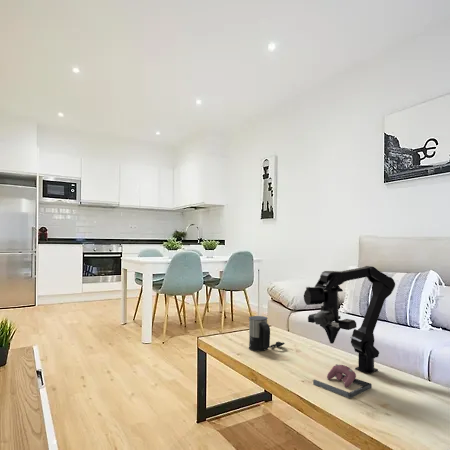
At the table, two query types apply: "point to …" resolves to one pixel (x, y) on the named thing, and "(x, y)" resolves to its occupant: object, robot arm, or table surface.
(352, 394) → the metal bay
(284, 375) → the table surface
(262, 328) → the milk frother
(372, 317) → the robot arm
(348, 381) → the video game controller
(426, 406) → the table surface
